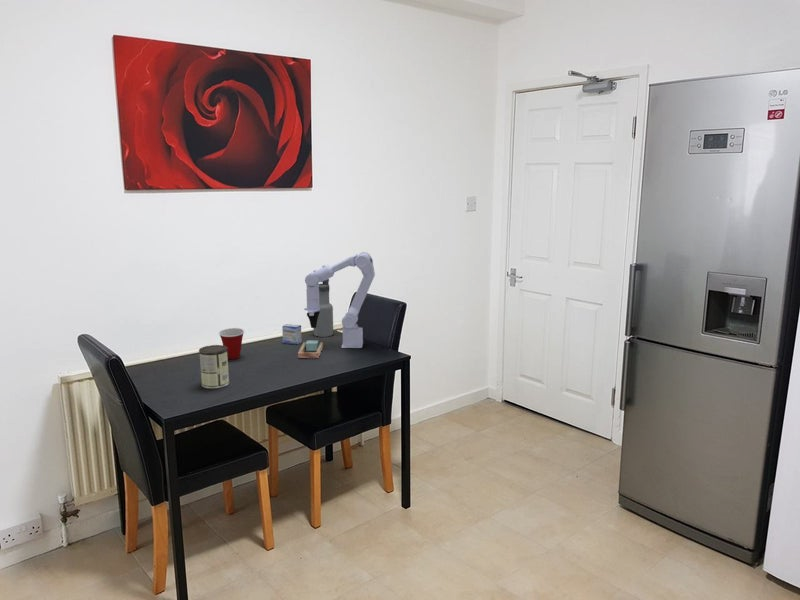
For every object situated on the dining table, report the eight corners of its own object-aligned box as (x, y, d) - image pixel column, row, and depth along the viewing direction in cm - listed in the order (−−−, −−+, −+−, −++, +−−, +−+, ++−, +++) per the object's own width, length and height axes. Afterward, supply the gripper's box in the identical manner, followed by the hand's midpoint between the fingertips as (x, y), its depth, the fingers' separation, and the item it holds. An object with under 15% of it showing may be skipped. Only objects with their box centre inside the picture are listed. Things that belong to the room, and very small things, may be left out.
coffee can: (205, 379, 243) (203, 344, 240) (232, 379, 243) (230, 344, 241) (197, 388, 233) (195, 352, 230) (225, 388, 233) (223, 352, 231)
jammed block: (318, 347, 287) (318, 340, 286) (317, 350, 282) (316, 343, 282) (307, 347, 287) (307, 340, 286) (306, 350, 282) (305, 343, 282)
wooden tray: (323, 347, 289) (323, 342, 288) (318, 358, 271) (318, 353, 271) (303, 347, 289) (303, 342, 288) (297, 358, 271) (297, 353, 270)
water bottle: (312, 337, 306) (310, 281, 301) (313, 332, 316) (311, 277, 310) (333, 337, 307) (331, 280, 301) (333, 332, 316) (332, 277, 311)
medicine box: (282, 343, 295) (281, 325, 294) (286, 341, 300) (286, 323, 298) (297, 344, 293) (297, 326, 291) (301, 342, 297) (301, 324, 296)
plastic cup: (217, 361, 267) (215, 334, 265) (223, 354, 278) (221, 328, 275) (242, 361, 267) (241, 334, 265) (248, 354, 278) (246, 327, 276)
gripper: (306, 295, 295) (307, 323, 297) (302, 302, 281) (302, 331, 283) (321, 295, 295) (322, 323, 298) (317, 302, 281) (318, 331, 283)
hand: (313, 327), depth 290 cm, fingers closed
